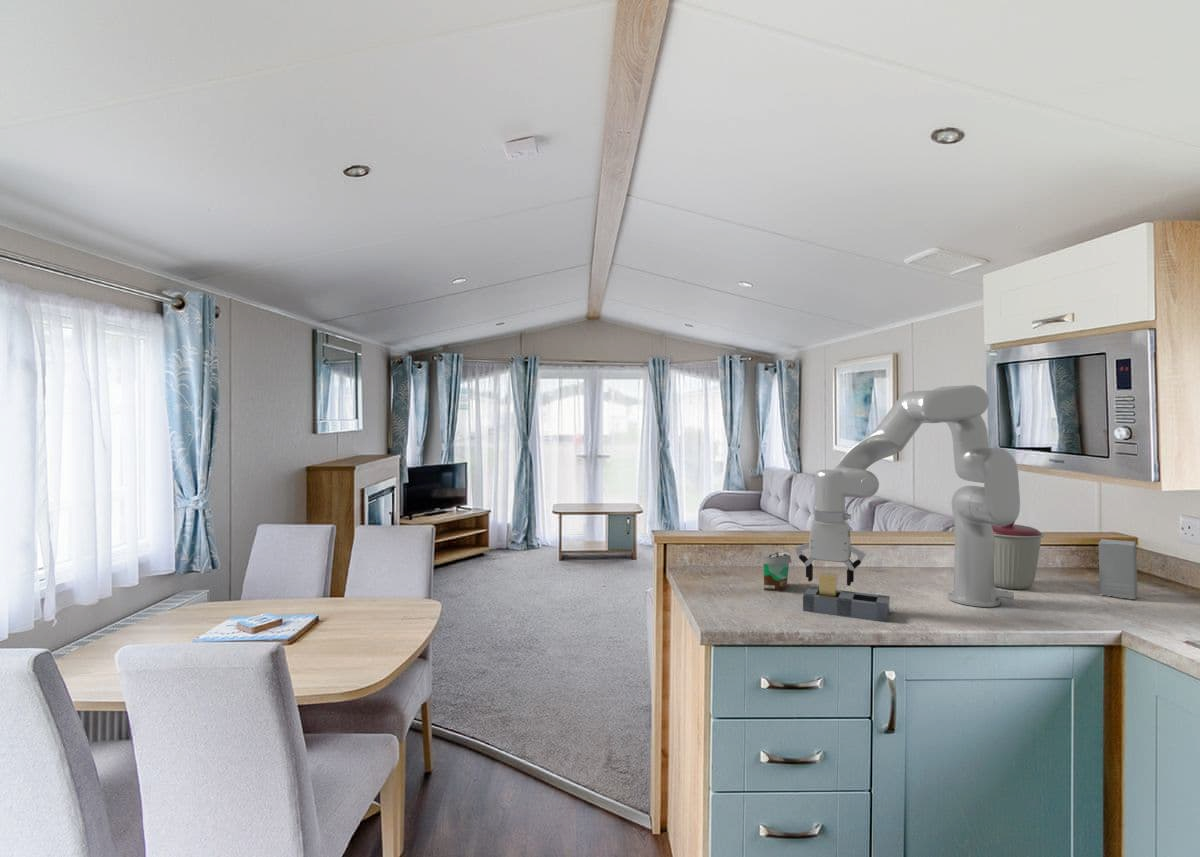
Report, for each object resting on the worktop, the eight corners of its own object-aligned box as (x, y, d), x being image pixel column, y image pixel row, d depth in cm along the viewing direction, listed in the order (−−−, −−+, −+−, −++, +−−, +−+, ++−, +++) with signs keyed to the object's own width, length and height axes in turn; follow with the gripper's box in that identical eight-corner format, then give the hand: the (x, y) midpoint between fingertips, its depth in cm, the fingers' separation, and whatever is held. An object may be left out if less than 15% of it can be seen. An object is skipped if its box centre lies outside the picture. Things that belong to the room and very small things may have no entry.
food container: (783, 594, 186) (784, 559, 186) (762, 591, 190) (763, 556, 190) (795, 585, 197) (796, 551, 197) (775, 582, 200) (776, 549, 200)
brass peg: (836, 608, 174) (837, 573, 174) (835, 611, 170) (835, 577, 170) (821, 605, 176) (821, 572, 175) (818, 609, 172) (819, 575, 172)
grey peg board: (889, 611, 171) (889, 596, 171) (887, 622, 162) (887, 605, 162) (809, 601, 180) (809, 586, 180) (802, 610, 171) (803, 595, 171)
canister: (1057, 593, 190) (1058, 520, 190) (993, 592, 191) (995, 520, 190) (1018, 578, 208) (1020, 511, 208) (960, 577, 209) (962, 511, 208)
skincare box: (1137, 596, 188) (1138, 541, 188) (1135, 601, 183) (1136, 544, 182) (1100, 591, 194) (1101, 537, 193) (1097, 595, 188) (1098, 540, 188)
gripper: (866, 517, 172) (866, 582, 172) (798, 513, 180) (798, 575, 180) (864, 521, 165) (863, 589, 166) (793, 517, 173) (792, 582, 173)
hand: (829, 582), depth 173 cm, fingers open, 9 cm apart
